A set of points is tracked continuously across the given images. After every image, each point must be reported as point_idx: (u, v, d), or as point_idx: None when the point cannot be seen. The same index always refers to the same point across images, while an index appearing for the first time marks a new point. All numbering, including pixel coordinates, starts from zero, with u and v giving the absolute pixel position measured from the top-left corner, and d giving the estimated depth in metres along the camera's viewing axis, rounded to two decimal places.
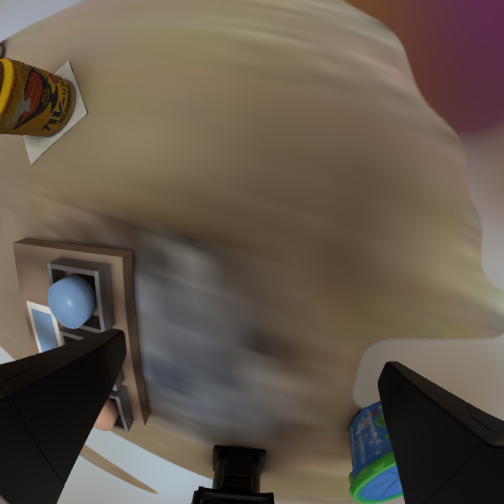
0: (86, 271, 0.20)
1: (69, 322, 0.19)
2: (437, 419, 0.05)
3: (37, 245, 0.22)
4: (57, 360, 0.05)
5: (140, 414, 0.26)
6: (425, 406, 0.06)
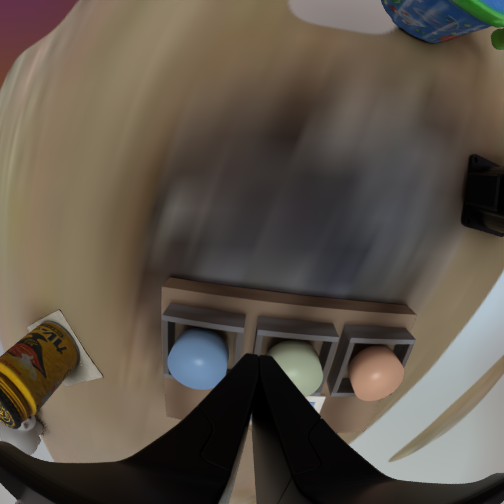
0: (164, 329, 0.19)
1: (216, 368, 0.18)
2: None
3: None
4: (232, 406, 0.05)
5: (395, 316, 0.20)
6: (266, 410, 0.06)
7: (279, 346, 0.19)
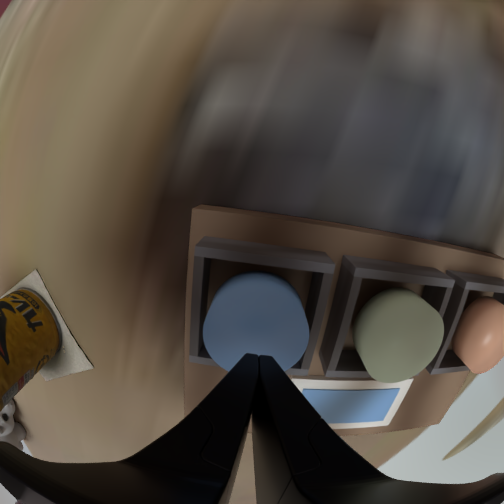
0: (196, 274, 0.11)
1: (293, 336, 0.10)
2: None
3: None
4: (232, 405, 0.05)
5: (494, 261, 0.13)
6: (266, 410, 0.06)
7: (382, 296, 0.12)
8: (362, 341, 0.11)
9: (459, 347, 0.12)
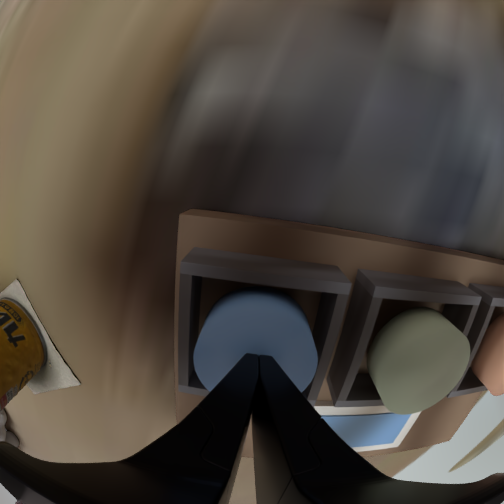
0: (183, 295, 0.09)
1: (299, 364, 0.09)
2: None
3: None
4: (232, 406, 0.05)
5: None
6: (266, 410, 0.06)
7: (403, 319, 0.09)
8: (380, 372, 0.09)
9: (480, 368, 0.10)
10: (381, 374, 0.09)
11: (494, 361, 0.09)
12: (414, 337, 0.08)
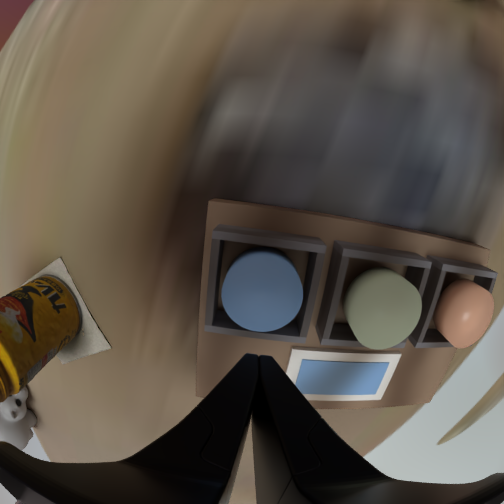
0: (213, 254, 0.14)
1: (291, 295, 0.14)
2: None
3: None
4: (232, 405, 0.05)
5: (473, 248, 0.15)
6: (266, 410, 0.06)
7: (367, 274, 0.14)
8: (350, 310, 0.14)
9: (440, 323, 0.14)
10: (351, 312, 0.14)
11: (449, 315, 0.13)
12: (373, 283, 0.13)
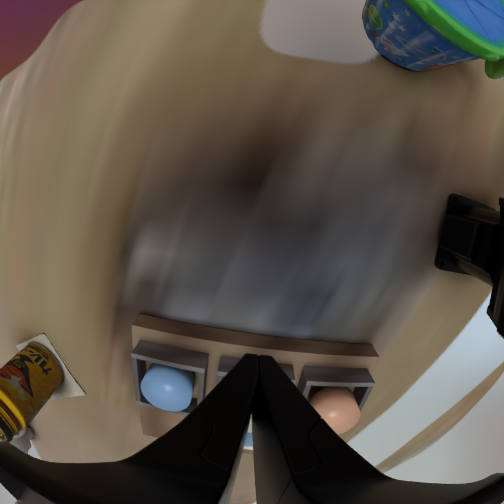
0: (134, 365, 0.19)
1: (183, 395, 0.19)
2: None
3: (140, 409, 0.23)
4: (232, 406, 0.05)
5: (356, 358, 0.21)
6: (266, 410, 0.06)
7: None
8: None
9: None
10: None
11: None
12: None
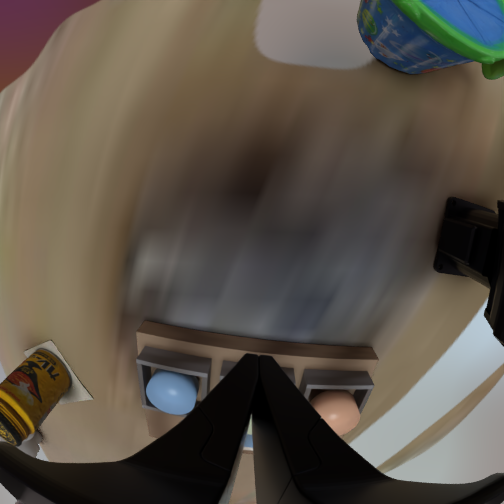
0: (139, 370, 0.20)
1: (187, 399, 0.20)
2: None
3: None
4: (232, 405, 0.05)
5: (356, 361, 0.21)
6: (266, 410, 0.06)
7: None
8: None
9: None
10: None
11: None
12: None
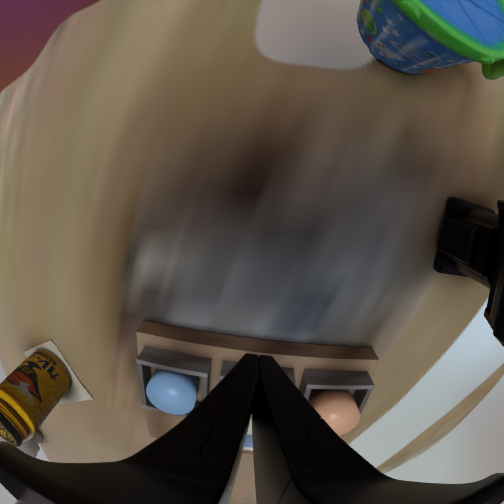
0: (139, 370, 0.20)
1: (187, 399, 0.20)
2: None
3: None
4: (232, 405, 0.05)
5: (356, 361, 0.21)
6: (266, 410, 0.06)
7: None
8: None
9: None
10: None
11: None
12: None
